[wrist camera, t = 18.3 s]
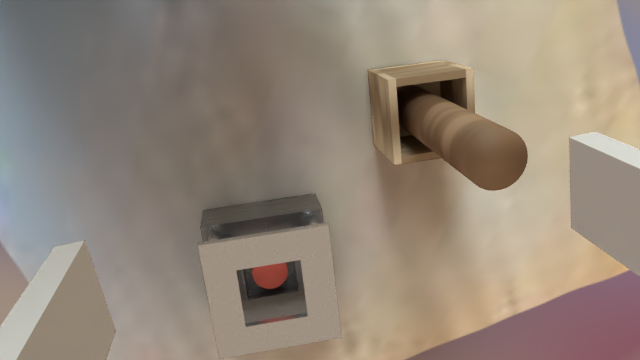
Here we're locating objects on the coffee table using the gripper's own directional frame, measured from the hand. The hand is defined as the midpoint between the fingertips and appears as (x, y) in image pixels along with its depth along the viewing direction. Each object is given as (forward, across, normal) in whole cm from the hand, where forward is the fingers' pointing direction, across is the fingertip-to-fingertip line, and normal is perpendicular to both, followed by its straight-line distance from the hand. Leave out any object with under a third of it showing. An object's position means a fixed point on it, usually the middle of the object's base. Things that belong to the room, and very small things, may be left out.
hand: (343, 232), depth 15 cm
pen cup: (+34, +11, -5) cm, 36 cm away
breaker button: (+32, -3, -16) cm, 36 cm away
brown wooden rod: (+33, +11, -6) cm, 36 cm away
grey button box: (+34, -3, -16) cm, 38 cm away
